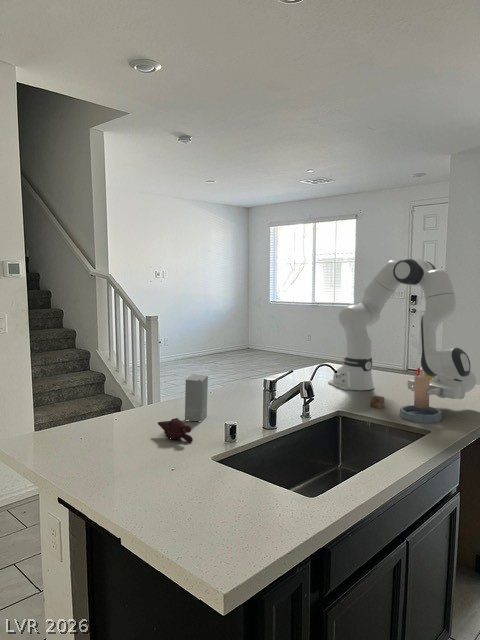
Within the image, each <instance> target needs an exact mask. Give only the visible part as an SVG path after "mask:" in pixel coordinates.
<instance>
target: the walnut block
mask: <svg viewBox="0 0 480 640" xmlns="http://www.w3.org/2000/svg"><path fill="white" fill-rule="evenodd" d="M382 407H383V408H384V407H385V396H379V395H373V396H371V397H370V408H372V409H373V408H374V409H378V410H379V409H380V410H381V409H383V408H382Z"/></svg>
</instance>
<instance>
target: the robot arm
mask: <svg viewBox="0 0 480 640" xmlns="http://www.w3.org/2000/svg"><path fill="white" fill-rule="evenodd" d="M401 284H403V285H407V286H411V287H412V286H413V287H415V286H419V287H421V289H422V291H423V295H424V301H425V307H424V308H425V309H424V313H423V314H422V316H421V320H420V335H421V338H420V339H421V356H420V357H421V359H420V367H422V369H423V371H424V372H425V373H426V374H427V375H429V376H431V377H432V380H430V389H427V390H426V394H428V395H429V396H432V395H435V396H437V397H438V398H441V399H445V398H447V399H453V400H457V399H458V400H462V399H465V397H466V396H465V395H466V393H469V392H471V391H472V390H474V389H475V387H476V385H477V376H476V375H475V373H474V372H473V371H472V370H471V360H470V358H469V355H468V354H467V353H466V352H465V351H464V350H463V349H462V348H461V347H460V348H459V347H453V348H452V347H451V348H446V349H443V350H442V349H441V350H437V341H436V340H437V338H436V334H437V330H438V327H439V326H440V325H441V323H443V322H444V321H445V320H447V319H448V318H450V317H451V316H452V314H453V313H454V311H455V309H456V308H457V301H456V296H455V295H456V294H455V290H454V287H453V284H452V280H451V278H450V276H449V274H448V273H447V271H445V270H443V269H438V268H436V266H435V265H434V264H433V263H431V262H430V261H427V260H423V259H421V258H419V259H418V258H410V257H408V258H403V259H400V260H394V259H391V260H389V261H387V262H386V263H385V264H383V265H382V267H381V268H380V269H379V270H378V271H377V272H376V274H374V276H373V277H372V279H370V281H369V283H368V284H367V286H366V287H365V288H364V289H363V293H364V294H363V297H362V299H361V301H360V302H359V303H358V304H350V305H347V306H345V307H344V308H342V309H341V310H340V311H339V313H338V322H339V323H340V325H341V326H342V327H343V330H344V332H345V333H344V334H345V337H346V339H345V340H346V357H342V361H344V362H343V364H342V365H341V366H340V367H339V368H337V369H336V370H335V371H337V373H335V371H334V372H333V378H332V379H331V380H328V382H327V384H328V385H331V386H334V387H337V388H338V389H341V390H345V391H349V390H350V391H369V390H374V389H375V386H374V385H375V384H374V379H373V369H372V366H373V357H372V345H373V343H372V340H371V338H370V337H369V335H368V329H367V328H369V327H371V326H373V325H375V324H377V322H378V321H379V320H380V317H381V312H382V311H383V308H384V306H385V304H386V303H387V302H388V300H389V299H390V298H391V297H392V295H393V294H394V293H395V292H396V290H397V289H398V288H399V286H401ZM414 379H415V378H410V379H407V385H406V386H407V389H409V390H410V391H411V392H414Z"/></svg>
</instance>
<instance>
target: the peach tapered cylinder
mask: <svg viewBox="0 0 480 640" xmlns="http://www.w3.org/2000/svg"><path fill="white" fill-rule="evenodd" d="M413 379H414V391H413V393H414V394H413V405H414V406H415V407H417V408H429V407H430V395H428V394H426V390H427V389H430V377H428V376H420V375H418V376H416V375H414V378H413Z"/></svg>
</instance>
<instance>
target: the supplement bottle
mask: <svg viewBox="0 0 480 640" xmlns="http://www.w3.org/2000/svg"><path fill="white" fill-rule="evenodd" d="M420 367H421V366H420ZM419 376H428V377H430V380H433V377H431V376H429V375H427V374H426V373H425V372H424V371H423V369H422V367H421V368H420V375H419Z"/></svg>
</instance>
